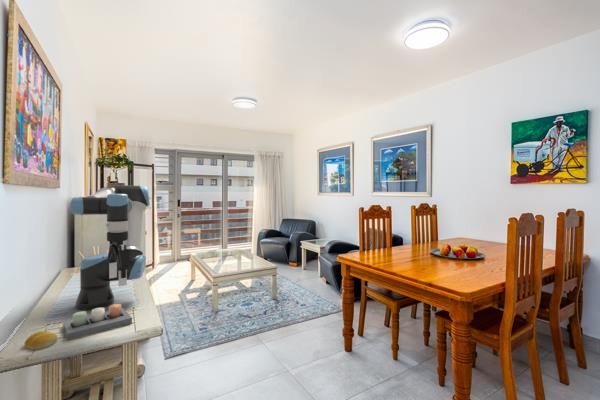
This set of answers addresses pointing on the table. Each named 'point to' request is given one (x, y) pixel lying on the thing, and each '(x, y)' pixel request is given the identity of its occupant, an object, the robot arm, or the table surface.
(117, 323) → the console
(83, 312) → the pale green rounded dome
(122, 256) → the robot arm
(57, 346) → the table surface
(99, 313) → the cream button
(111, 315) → the brown egg
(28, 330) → the table surface
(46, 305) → the table surface
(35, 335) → the bread roll
